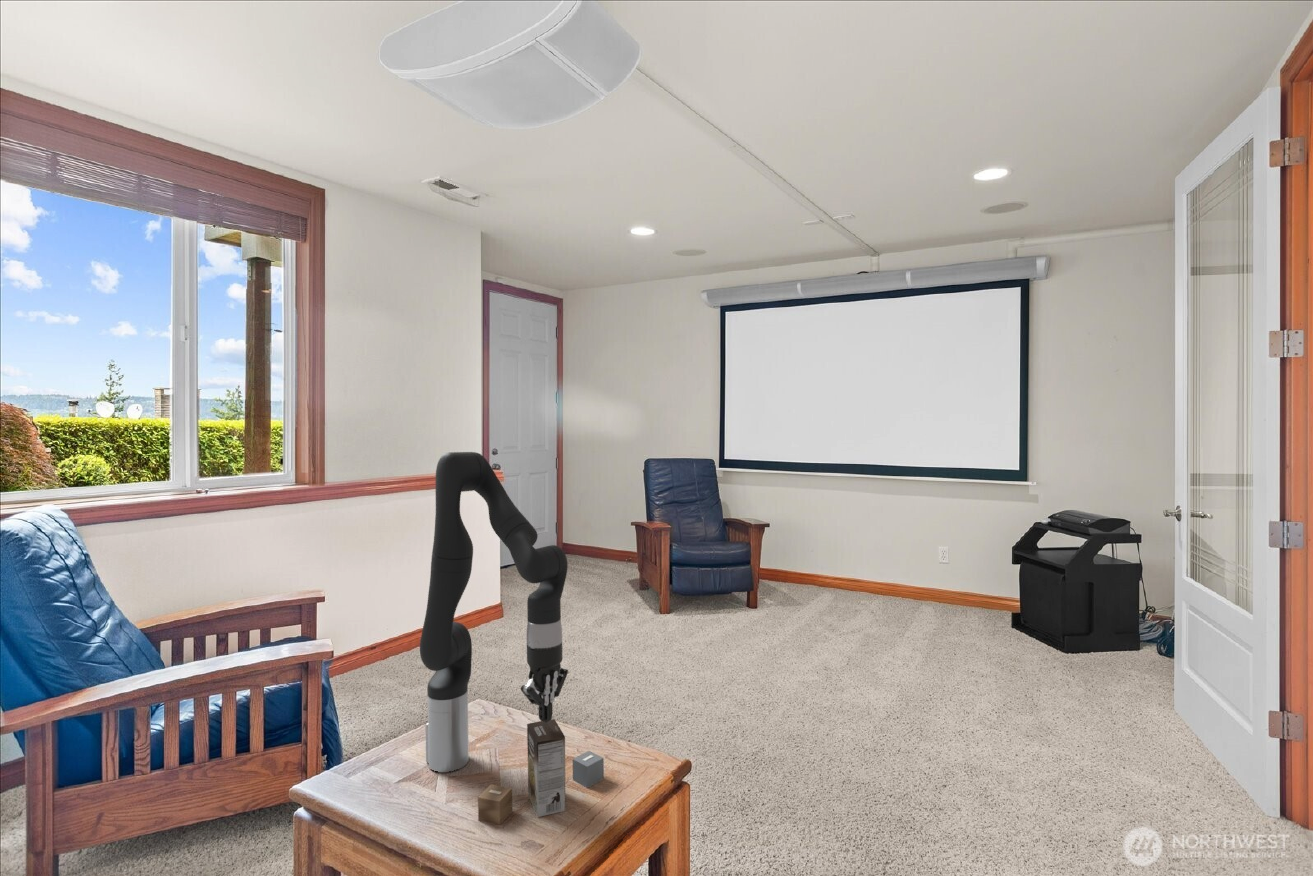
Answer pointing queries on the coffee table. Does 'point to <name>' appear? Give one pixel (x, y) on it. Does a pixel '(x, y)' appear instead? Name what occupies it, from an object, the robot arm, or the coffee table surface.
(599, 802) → the coffee table surface
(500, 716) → the coffee table surface
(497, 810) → the walnut block
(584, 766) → the slate block
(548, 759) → the coffee box
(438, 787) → the coffee table surface
